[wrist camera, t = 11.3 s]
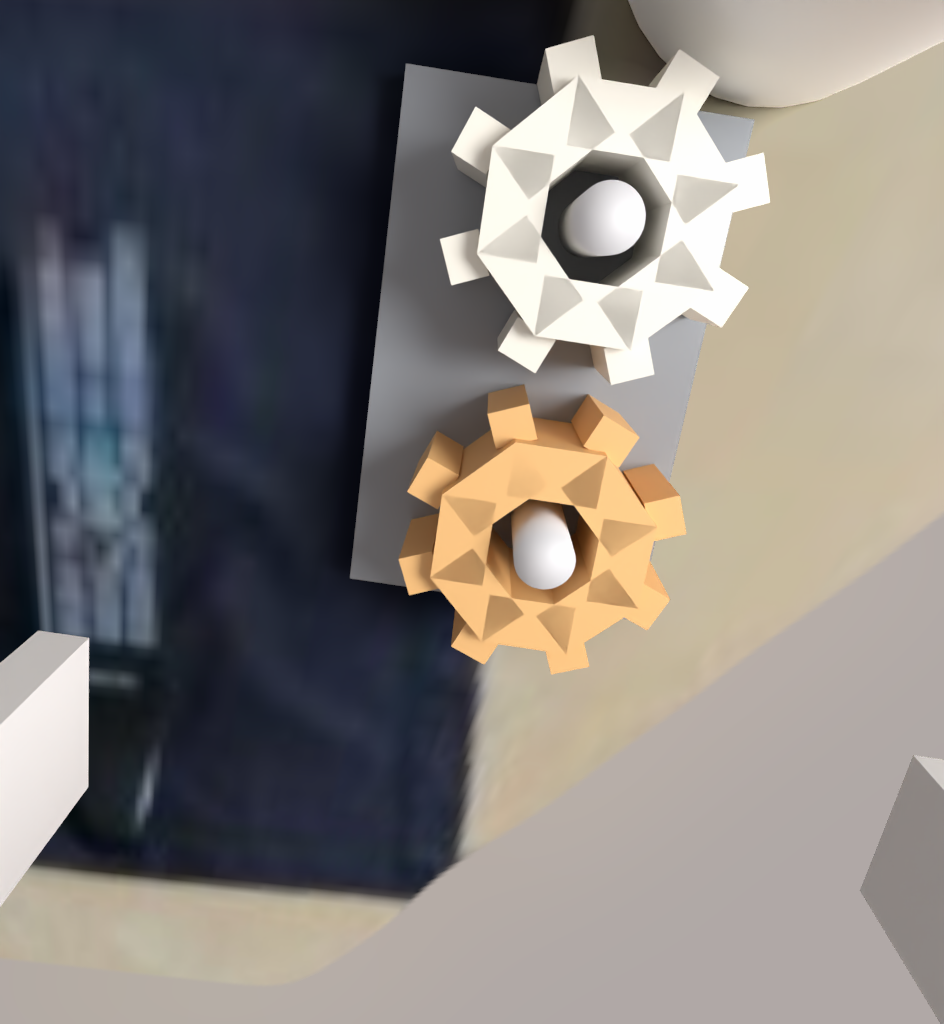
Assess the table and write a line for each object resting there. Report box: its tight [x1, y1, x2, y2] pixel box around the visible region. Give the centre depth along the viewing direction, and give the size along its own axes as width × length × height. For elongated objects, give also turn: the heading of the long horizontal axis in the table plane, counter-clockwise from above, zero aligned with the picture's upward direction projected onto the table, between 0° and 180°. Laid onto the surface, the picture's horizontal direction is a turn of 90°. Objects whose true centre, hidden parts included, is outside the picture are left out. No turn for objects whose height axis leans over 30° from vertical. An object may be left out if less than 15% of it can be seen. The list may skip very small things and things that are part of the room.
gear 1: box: [440, 35, 770, 385], centre depth 25 cm, size 10×10×5 cm
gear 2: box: [399, 384, 686, 674], centre depth 28 cm, size 10×10×5 cm
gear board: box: [350, 64, 754, 620], centre depth 27 cm, size 12×19×8 cm, turn 171°
